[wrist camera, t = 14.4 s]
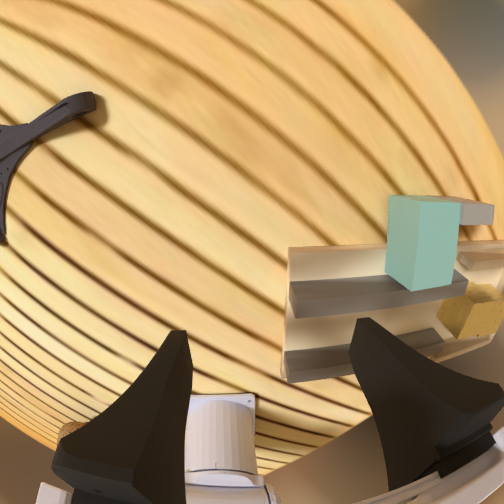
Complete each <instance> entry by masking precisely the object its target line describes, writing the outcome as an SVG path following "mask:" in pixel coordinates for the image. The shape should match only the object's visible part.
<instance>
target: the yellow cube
mask: <svg viewBox="0 0 504 504" xmlns="http://www.w3.org/2000/svg"><path fill="white" fill-rule="evenodd" d="M477 285H478V286H479V287H480V288H481V289H483V290H484V291H485V292H486V293H487V294H488V295H489V296H491V297H492V298H493V299H494V300H495V301H496V302H495V304H494V306H493V308H492V310H491V313H490V315H489V317H488V319H487V321H486V323H485V325H484V327H483V328H482V330H481V332H480V334H479V335H476V336H477V337H481V336H485V335H489V334H492V333H496V332H497V330H498V328H499V326H500V324H501V322H502V320H503V318H504V295H503V294H502V293H501V292H500V291H498V290H497V289H496V288H495V287H494V286H492V285H491V284H477Z"/></svg>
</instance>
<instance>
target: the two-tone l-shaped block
mask: <svg viewBox="0 0 504 504" xmlns="http://www.w3.org/2000/svg"><path fill="white" fill-rule="evenodd" d="M493 218H494V205H491V204H487V203H482V202H478V201H473V200H469V199H464V198H459V197H447V196H412V195H389V211H388V233H387V248H386V260H385V271H384V272H385V273H387V274H388V275H389V276H391V277H392V278H394V279H395V280H396V281H398V282H399V283H400V284H402V285H403V286H404V287H406V288H407V289H409V290H410V291H417V290H423V289H429V288H434V287H440V286H445V285H450V284H451V282H452V276H453V270H454V264H455V257H456V250H457V242H458V232H459V224H460V225H493Z"/></svg>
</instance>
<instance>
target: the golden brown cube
mask: <svg viewBox="0 0 504 504" xmlns="http://www.w3.org/2000/svg"><path fill="white" fill-rule="evenodd" d="M495 302H496V301H495V300H494V299H493V298H492V297H491V296H489V295H488V294H487V293H486V292H485V291H484V290H483V289H481V288H480V287H479V286H478V285H477V284H475V283H474V282H473V281H469V283H468V286H467V289H466V291H465V294H464V295H463V296H458V297H453V298H447V299H443V301H442V303H441V306H440V308H439V310H438V313H437V315H436V317H437V318H438V319H439V320H440V321H441V322H442V323H443V325H444V326H445V327H446V328H447V329H448V330H449V331H450V333H451V334H452V335H453V336H454V337H455V338H456V340H458V339H462V338H467V337H471V336H475V335H479V334H480V332H481V330H482V328H483V327H484V325H485V323H486V321H487V319H488V317H489V315H490V313H491V310H492V308H493V306H494V304H495Z"/></svg>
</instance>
